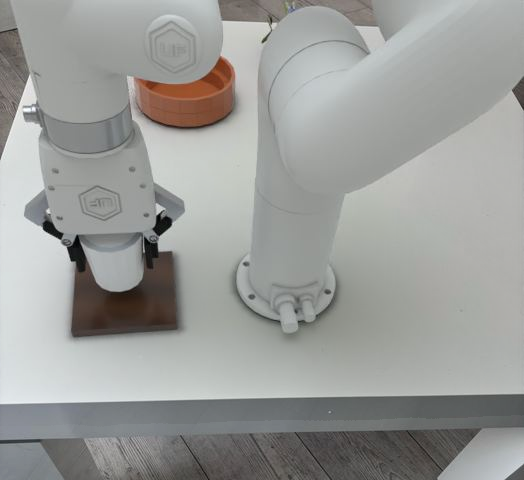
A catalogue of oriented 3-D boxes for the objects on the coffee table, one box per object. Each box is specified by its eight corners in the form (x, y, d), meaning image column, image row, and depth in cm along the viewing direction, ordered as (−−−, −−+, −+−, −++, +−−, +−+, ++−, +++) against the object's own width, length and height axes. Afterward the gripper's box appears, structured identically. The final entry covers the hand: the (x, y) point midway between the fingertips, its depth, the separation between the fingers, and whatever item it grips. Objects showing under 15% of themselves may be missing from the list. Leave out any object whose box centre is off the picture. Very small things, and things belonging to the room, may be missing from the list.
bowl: (239, 128, 88) (240, 99, 84) (137, 130, 86) (133, 100, 82) (228, 75, 97) (229, 46, 93) (136, 76, 95) (132, 46, 91)
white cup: (137, 301, 62) (130, 257, 56) (79, 289, 62) (66, 244, 56) (156, 259, 66) (151, 214, 60) (101, 248, 66) (91, 202, 60)
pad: (177, 329, 64) (177, 324, 63) (72, 337, 63) (70, 331, 62) (172, 256, 71) (172, 250, 70) (77, 261, 69) (76, 255, 69)
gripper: (-24, 146, 44) (34, 290, 59) (190, 143, 47) (195, 282, 61) (-11, 95, 48) (40, 242, 63) (185, 94, 51) (190, 235, 65)
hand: (116, 261), depth 62 cm, fingers closed on white cup, 6 cm apart
